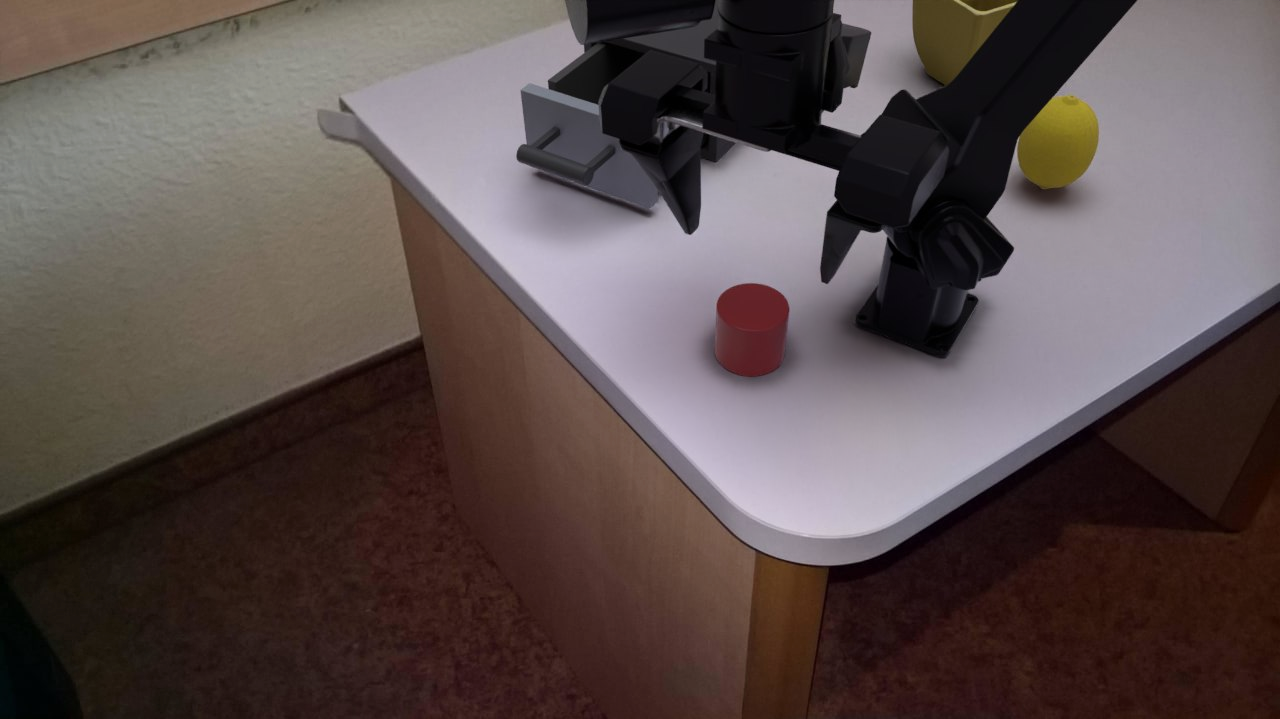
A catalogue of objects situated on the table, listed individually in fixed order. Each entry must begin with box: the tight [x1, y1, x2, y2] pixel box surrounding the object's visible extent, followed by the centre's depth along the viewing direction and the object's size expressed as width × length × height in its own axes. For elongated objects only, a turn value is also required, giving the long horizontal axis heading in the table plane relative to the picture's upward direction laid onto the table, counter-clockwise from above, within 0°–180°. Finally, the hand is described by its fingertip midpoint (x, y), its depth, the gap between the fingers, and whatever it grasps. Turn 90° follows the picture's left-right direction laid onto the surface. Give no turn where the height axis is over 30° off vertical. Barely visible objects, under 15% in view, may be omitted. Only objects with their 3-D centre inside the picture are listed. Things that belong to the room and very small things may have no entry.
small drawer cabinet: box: [583, 0, 736, 163], centre depth 88 cm, size 16×13×9 cm
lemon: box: [1016, 94, 1100, 190], centre depth 77 cm, size 6×6×8 cm
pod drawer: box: [516, 42, 711, 210], centre depth 80 cm, size 19×11×7 cm, turn 148°
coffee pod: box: [714, 282, 790, 377], centre depth 66 cm, size 5×5×4 cm
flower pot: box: [911, 0, 1018, 86], centre depth 89 cm, size 9×9×9 cm
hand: (758, 254), depth 62 cm, fingers open, 9 cm apart
